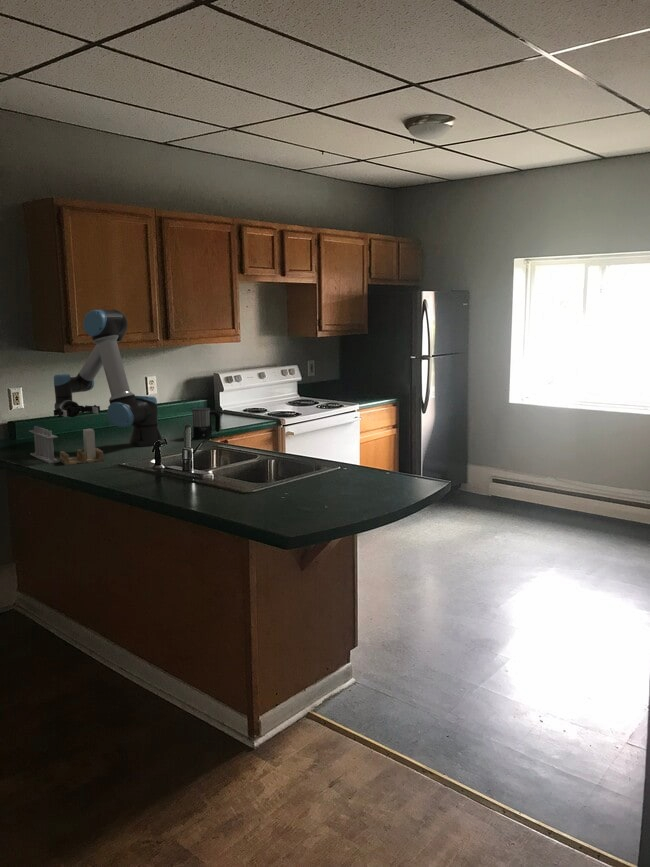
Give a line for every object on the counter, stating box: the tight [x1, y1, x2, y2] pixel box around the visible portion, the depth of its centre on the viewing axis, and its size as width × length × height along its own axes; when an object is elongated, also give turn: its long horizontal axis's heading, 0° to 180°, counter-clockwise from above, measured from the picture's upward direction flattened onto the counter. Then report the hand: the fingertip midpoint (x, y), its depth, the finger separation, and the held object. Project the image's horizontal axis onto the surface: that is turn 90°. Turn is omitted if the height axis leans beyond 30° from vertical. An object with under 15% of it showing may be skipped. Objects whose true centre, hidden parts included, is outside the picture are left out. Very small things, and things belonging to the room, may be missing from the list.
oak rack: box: [59, 447, 105, 466], centre depth 304 cm, size 16×10×4 cm, turn 122°
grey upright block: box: [82, 428, 96, 459], centre depth 305 cm, size 4×5×12 cm
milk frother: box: [191, 407, 221, 440], centre depth 363 cm, size 14×16×15 cm
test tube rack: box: [28, 425, 61, 465], centre depth 309 cm, size 25×4×13 cm, turn 39°
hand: (81, 412), depth 317 cm, fingers open, 13 cm apart
